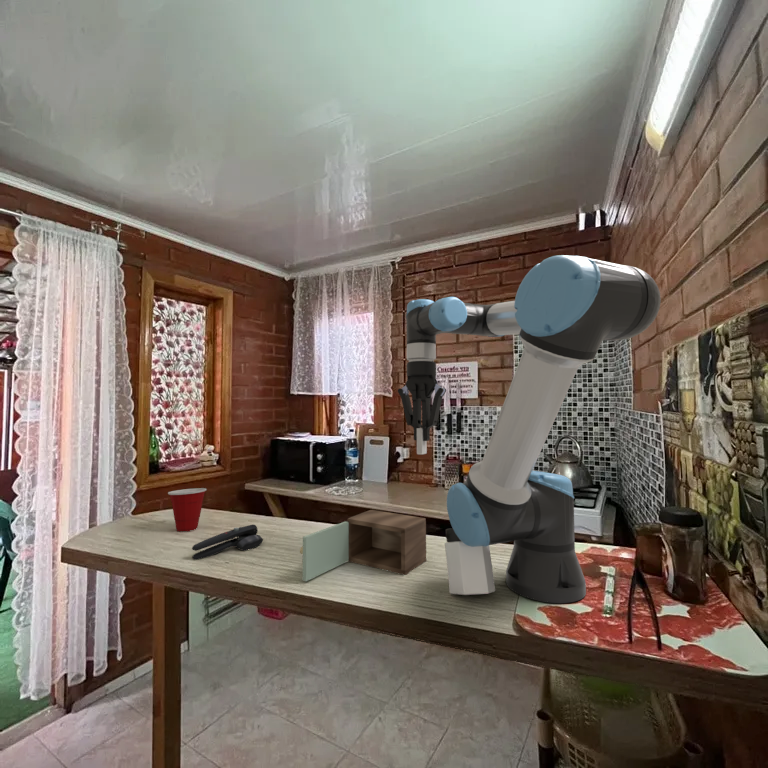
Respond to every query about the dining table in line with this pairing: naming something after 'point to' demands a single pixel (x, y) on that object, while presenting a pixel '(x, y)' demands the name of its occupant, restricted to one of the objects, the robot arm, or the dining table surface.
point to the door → (325, 550)
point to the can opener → (229, 541)
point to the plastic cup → (187, 507)
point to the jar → (468, 567)
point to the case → (387, 541)
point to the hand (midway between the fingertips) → (421, 453)
